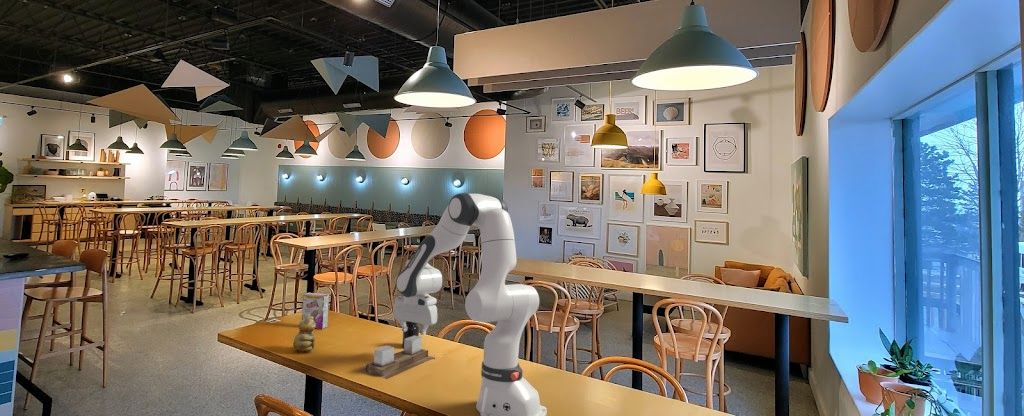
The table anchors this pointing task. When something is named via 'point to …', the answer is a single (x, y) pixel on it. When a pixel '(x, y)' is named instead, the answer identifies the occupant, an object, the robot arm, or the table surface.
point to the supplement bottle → (410, 330)
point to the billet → (412, 345)
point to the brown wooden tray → (398, 364)
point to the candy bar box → (316, 308)
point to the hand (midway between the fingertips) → (413, 333)
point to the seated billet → (383, 356)
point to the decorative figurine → (305, 335)
